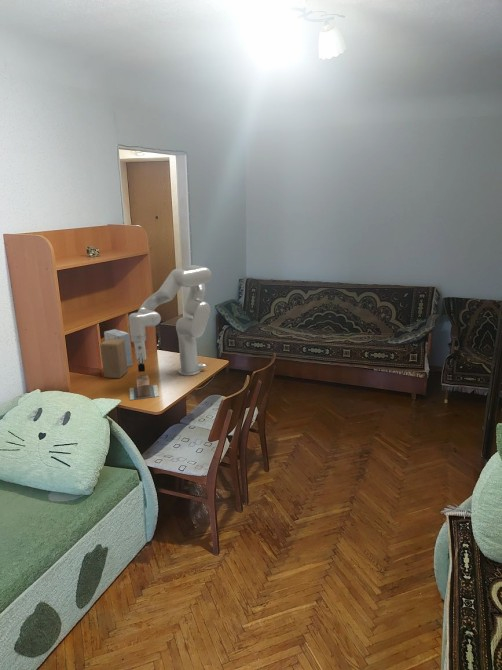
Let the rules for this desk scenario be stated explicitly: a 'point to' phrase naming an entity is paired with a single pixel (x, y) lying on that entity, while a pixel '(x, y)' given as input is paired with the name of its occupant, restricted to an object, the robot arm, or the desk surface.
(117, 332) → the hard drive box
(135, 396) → the mat
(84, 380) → the desk surface
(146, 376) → the walnut block
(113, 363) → the wooden block
